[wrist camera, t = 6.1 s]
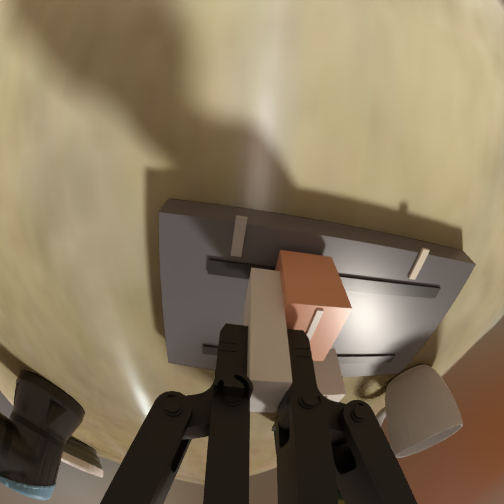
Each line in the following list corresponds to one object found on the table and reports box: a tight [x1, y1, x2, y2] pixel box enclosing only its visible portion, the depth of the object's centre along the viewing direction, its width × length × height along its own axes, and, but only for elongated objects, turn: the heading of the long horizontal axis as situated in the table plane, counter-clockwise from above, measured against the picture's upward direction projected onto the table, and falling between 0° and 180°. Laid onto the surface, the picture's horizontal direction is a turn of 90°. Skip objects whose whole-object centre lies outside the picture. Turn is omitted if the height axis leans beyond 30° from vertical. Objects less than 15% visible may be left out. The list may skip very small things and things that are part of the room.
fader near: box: [275, 250, 352, 361], centre depth 14 cm, size 3×4×4 cm
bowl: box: [61, 438, 103, 477], centre depth 55 cm, size 20×20×10 cm
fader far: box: [313, 348, 346, 402], centre depth 18 cm, size 3×4×4 cm
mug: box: [376, 365, 463, 458], centre depth 24 cm, size 13×9×10 cm
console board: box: [159, 199, 476, 377], centre depth 19 cm, size 23×15×2 cm, turn 81°
